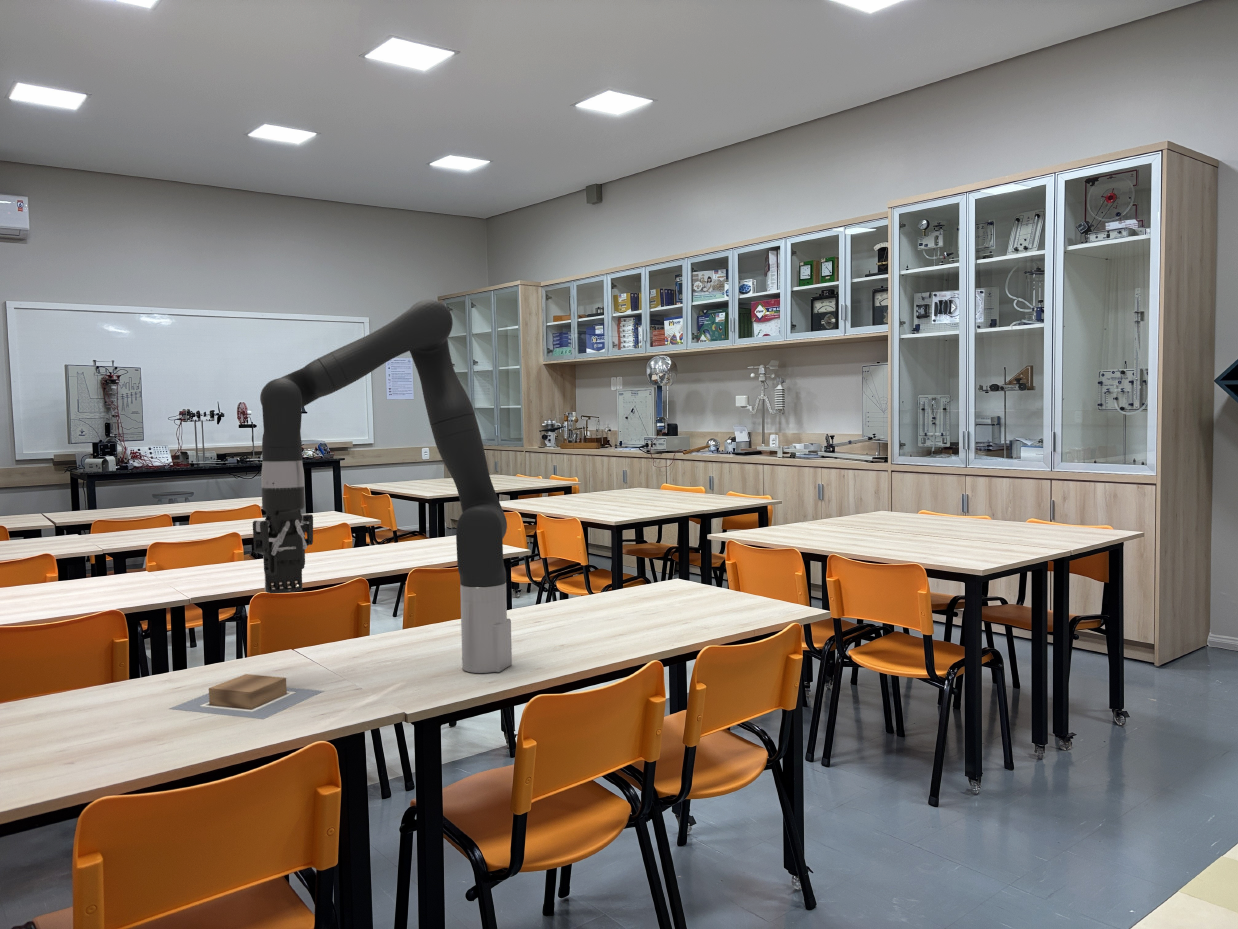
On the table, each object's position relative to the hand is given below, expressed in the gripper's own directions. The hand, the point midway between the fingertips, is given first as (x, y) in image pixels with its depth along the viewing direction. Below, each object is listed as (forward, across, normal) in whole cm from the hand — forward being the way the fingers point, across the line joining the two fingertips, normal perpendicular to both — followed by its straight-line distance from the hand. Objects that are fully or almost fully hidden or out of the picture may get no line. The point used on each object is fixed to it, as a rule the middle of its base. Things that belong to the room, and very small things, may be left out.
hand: (285, 571), depth 164 cm
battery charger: (+4, 0, 0) cm, 4 cm away
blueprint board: (+22, -11, -1) cm, 25 cm away
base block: (+21, -11, -1) cm, 24 cm away
